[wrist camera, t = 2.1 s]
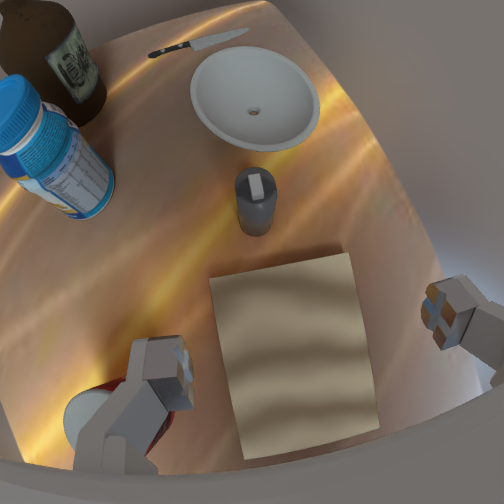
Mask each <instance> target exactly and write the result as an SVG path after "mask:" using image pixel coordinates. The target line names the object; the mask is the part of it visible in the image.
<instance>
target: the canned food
mask: <svg viewBox="0 0 504 504" xmlns="http://www.w3.org/2000/svg"><path fill="white" fill-rule="evenodd" d="M126 376H127V375H126ZM126 376H124V377H121V378H118V379H116V380H113V381H110V382H107V383H104V384H102V385H99V386H96V387H93V388H91V389H88V390H86V391H83V392H81V393H79V394H78V395H76V396H75V397H73V398H72V399H71V401H70V402H69V403H68V405H67V407H66V409H65V412H64V418H63V424H64V431H65V434H66V437H67V439H68V441H69V443H70V445H71V447H72V448H73V449H74V451H76V444H77V438H78V433H79V432H80V431H81V429H82V428H83V427H84V426H85V425H86V423H87V422H88V421H89V420H90V419H91V417H92V416H93V415H94V414H95V413H96V412H97V410H98V409H99V408H100V407H101V406H102V404H103V403H104V402H105V401H106V400H107V399H108V397H109V396H110V395H111V394H112V393H113V391H114V390H115V389H116V388H117V387H118V386H119V384H120V383H121V382H126ZM174 412H175V411H171V412H168V415H167V417H166V419H165V420H164V422H163V424H162V425H161V427H160V429H159V430H158V432H157V434H156V435H155V437H154V439H153V440H152V442H151V444H150V445H149V447H148V449H147V450H146V452H145V454H144V456H146V455H147V454H148V453H149V451H150V450H151V449H152V448H153V447H154V445H155V444H156V443H157V442H158V440H159V439H160V438H161V437H162V436H163V434H164V433H165V432H166V431H167V429H168V428H169V427H170V425H171V424H172V421H173V418H174Z"/></svg>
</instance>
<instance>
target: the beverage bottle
mask: <svg viewBox="0 0 504 504" xmlns="http://www.w3.org/2000/svg"><path fill="white" fill-rule="evenodd" d="M0 164H1V166H2V168H3V170H4V171H5V173H6V174H7V175H8V176H9V177H10V178H12V179H14V180H17V182H18V183H19V184H20V185H21V186H22V187H23V188H24V189H26V190H27V191H29V192H32V193H36V194H37V195H39V196H40V197H42V198H43V199H45V200H46V201H48V202H49V203H51V204H52V205H54V206H55V207H57V208H58V209H60V210H61V211H62V212H63V213H64V214H66V215H67V216H69V217H71V218H73V219H77V220H84V219H88V218H91V217H93V216H95V215H97V214H98V213H99V212H100V211H102V210H103V209H104V207H105V206H106V205H107V203H108V202H109V200H110V198H111V196H112V193H113V189H114V177H113V173H112V171H111V169H110V168H109V166H108V165H107V164H106V163H105V162H104V161H103V160H102V159H101V158H100V156H99V155H98V154H97V153H96V152H95V150H94V149H93V148H92V147H91V145H90V144H89V143H88V142H87V140H86V139H85V138H84V137H83V135H82V134H81V132H80V130H79V128H78V127H77V126H76V125H75V124H74V123H73V122H72V121H71V120H70V119H68V118H67V117H66V115H65V113H64V112H63V111H62V110H61V109H60V108H59V107H57V106H55V105H53V104H50V103H47V102H41V99H40V96H39V94H38V92H37V91H36V90H35V88H34V87H33V86H32V85H31V83H30V82H29V81H28V80H27V79H26V78H25V77H23V76H22V75H19V74H14V75H10V76H8V77H5V78H4V79H2V80H0Z"/></svg>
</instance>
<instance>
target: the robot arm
mask: <svg viewBox="0 0 504 504" xmlns="http://www.w3.org/2000/svg"><path fill="white" fill-rule="evenodd" d="M425 293H426V295H427V298H426V299H425V300H424V301H423V303H422V307H421V318H422V320H423V323H424V325H425V326H426V328H427V329H429V330H431V331H433V339H434V340H435V342H436V343H437V345H438V347H439V348H440V350H441V351H442V350H445V349H448V348H451V347H453V346H456V345H459V344H460V346H461V347H463V348H464V349H465V350H467V351H468V352H470V353H471V354H473V355H474V356H476V357H477V358H479V359H480V360H481V361H483V362H484V363H486V364H488V365H489V366H490V367H492V368H493V369H494V370H496V373H495V374H494V376H493V377H492V378H491V381H490V384H491V386H492V387H493V389H491V390H489V391H487V392H485V393H483V394H482V395H480V396H478V397H476V398H474V399H472V400H470V401H468V402H466V403H464V404H462V405H460V406H458V407H456V408H453V409H451V410H449V411H447V412H445V413H443V414H440V415H438V416H436V417H433V418H431V419H429V420H426V421H424V422H422V423H419V424H417V425H414V426H412V427H409V428H406V429H404V430H401V431H398V432H396V433H393V434H390V435H387V436H384V437H381V438H378V439H375V440H372V441H369V442H366V443H363V444H359V445H356V446H353V447H349V448H346V449H342V450H338V451H335V452H331V453H327V454H323V455H319V456H315V457H310V458H306V459H301V460H296V461H291V462H286V463H281V464H275V465H270V466H263V467H257V468H250V469H243V470H234V471H225V472H215V473H203V474H186V475H158V468H157V467H156V466H155V465H154V464H153V463H152V462H151V461H149V460H148V459H147V458H146V457H145V456H144V454H145V452H146V450H147V449H148V447H149V445H150V444H151V442H152V440H153V439H154V437H155V435H156V434H157V432H158V430H159V429H160V427H161V425H162V424H163V422H164V420H165V419H166V417H167V415H168V412H171V411H180V410H188V409H194V390H193V388H192V386H191V382H192V381H193V380H194V376H193V366H192V361H191V357H190V354H189V352H188V351H187V350H185V349H184V345H185V342H184V340H183V338H182V336H181V335H172V336H162V337H152V338H145V339H134V341H133V342H132V345H131V351H130V357H129V363H128V369H127V376H126V382H121V383H120V384H119V386H118V387H117V388H116V389H115V390H114V391H113V393H112V394H111V395H110V396H109V397H108V399H107V400H106V401H105V402H104V403H103V404H102V406H101V407H100V408H99V409H98V410H97V412H96V413H95V414H94V415H93V416H92V417H91V419H90V420H89V421H88V422H87V423H86V425H85V426H84V427H83V428H82V429H81V431H80V432H79V433H78V438H77V444H76V451H75V458H74V465H73V470H66V469H59V468H52V467H46V466H41V465H35V464H30V463H25V462H20V461H16V460H12V459H7V458H3V457H0V504H504V307H503V306H501V305H499V304H497V303H495V302H493V301H491V302H489V301H488V300H487V299H486V298H485V297H484V295H483V294H482V293H481V292H480V291H479V290H478V288H477V287H476V286H475V285H474V284H473V283H472V282H471V280H470V279H469V278H468V277H467V276H466V275H463V274H461V275H458V276H455V277H452V278H448V279H444V280H441V281H437V282H434V283H430V284H429V285H428V286H427V288H426V292H425Z"/></svg>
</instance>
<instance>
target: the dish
mask: <svg viewBox="0 0 504 504" xmlns="http://www.w3.org/2000/svg"><path fill="white" fill-rule="evenodd" d="M190 96H191V101H192V104H193V107H194V109H195V112H196V113H197V115H198V117H199V118H200V120H201V121H202V122H203V123H204V125H205V126H206V127H207V128H208V129H209V130H210V131H212V132H213V133H214V134H215V135H217V136H218V137H220V138H221V139H223V140H224V141H226V142H228V143H230V144H232V145H235V146H237V147H240V148H243V149H247V150H252V151H258V152H276V151H282V150H286V149H289V148H292V147H294V146H296V145H298V144H300V143H301V142H303V141H304V140H305V139H306V138H308V137H309V136H310V134H311V133H312V132H313V130H314V129H315V127H316V125H317V122H318V119H319V114H320V104H319V98H318V94H317V91H316V89H315V87H314V85H313V83H312V82H311V80H310V79H309V77H308V76H307V75H306V74H305V72H304V71H303V70H302V69H301V68H300V67H298V66H297V65H296V64H295V63H294V62H292V61H291V60H289V59H288V58H286V57H284V56H282V55H280V54H278V53H276V52H273V51H270V50H267V49H263V48H259V47H250V46H239V47H231V48H227V49H223V50H220V51H218V52H216V53H214V54H212V55H210V56H209V57H207V58H206V59H205V60H204V61H203V62H202V63H201V64H200V65H199V66H198V67H197V69H196V71H195V73H194V75H193V77H192V80H191V86H190ZM251 111H256V112H257V113H258V114H257V115H250V114H249V113H250V112H251Z"/></svg>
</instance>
